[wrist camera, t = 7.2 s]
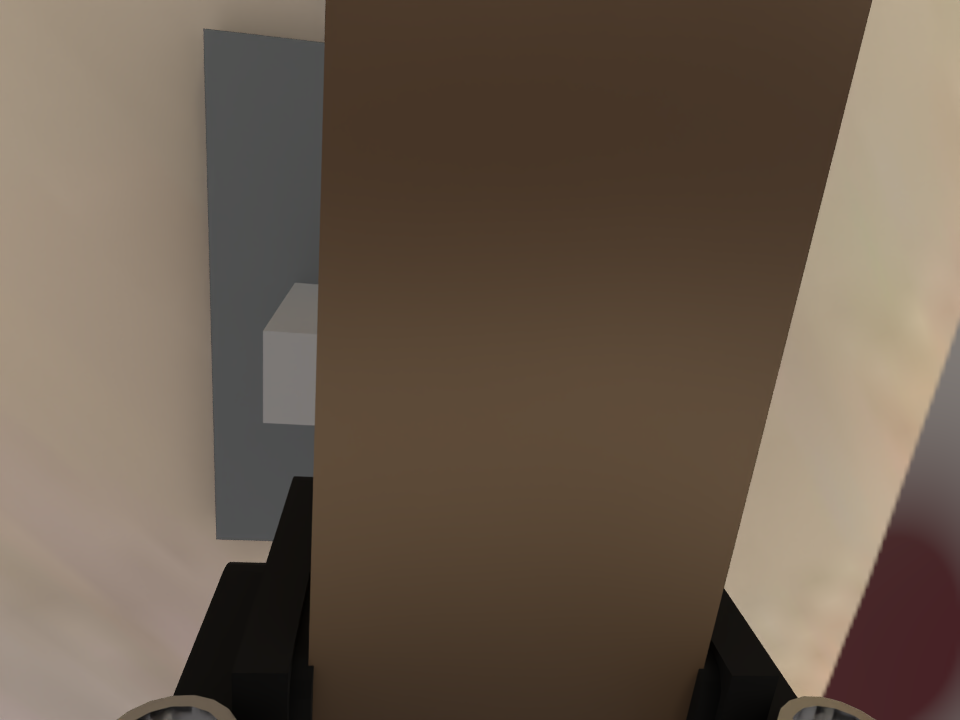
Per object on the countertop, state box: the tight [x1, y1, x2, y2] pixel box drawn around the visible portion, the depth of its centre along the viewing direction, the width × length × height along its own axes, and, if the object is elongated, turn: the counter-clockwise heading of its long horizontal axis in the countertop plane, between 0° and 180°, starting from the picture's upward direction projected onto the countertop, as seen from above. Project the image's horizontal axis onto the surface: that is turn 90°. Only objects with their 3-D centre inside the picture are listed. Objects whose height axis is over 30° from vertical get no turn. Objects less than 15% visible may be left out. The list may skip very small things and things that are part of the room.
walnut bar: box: [308, 0, 872, 720], centre depth 9 cm, size 20×4×4 cm, turn 174°
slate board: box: [203, 29, 325, 541], centre depth 20 cm, size 16×14×6 cm
